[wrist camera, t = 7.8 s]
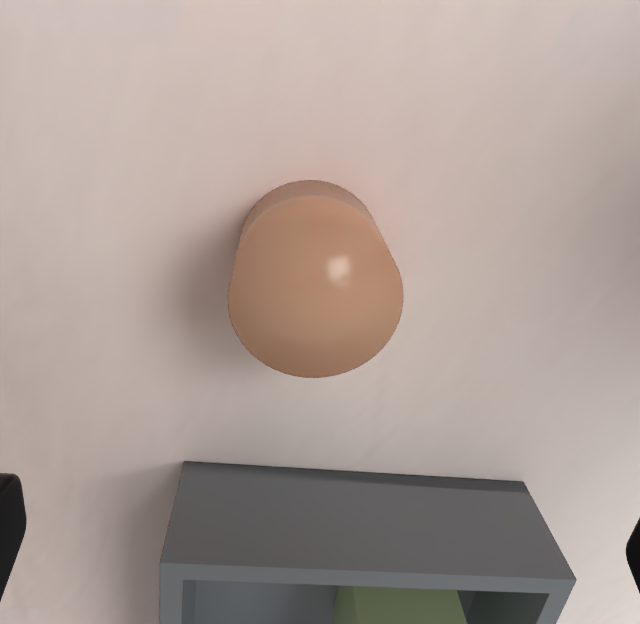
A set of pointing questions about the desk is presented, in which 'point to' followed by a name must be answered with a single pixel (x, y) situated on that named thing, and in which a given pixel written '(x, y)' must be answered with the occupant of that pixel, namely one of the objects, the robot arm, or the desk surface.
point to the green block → (397, 606)
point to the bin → (353, 545)
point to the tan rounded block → (313, 282)
